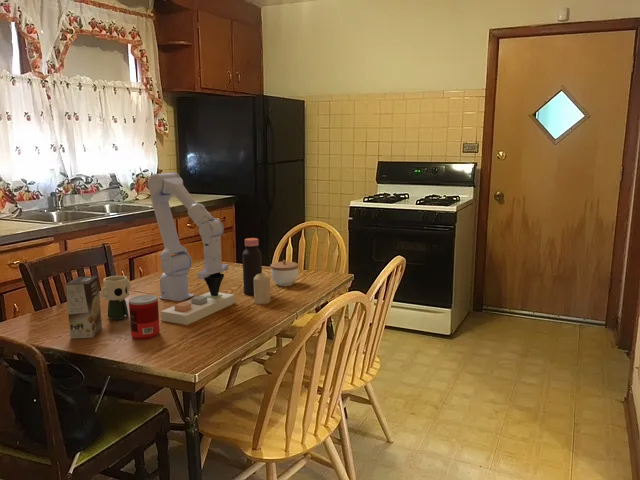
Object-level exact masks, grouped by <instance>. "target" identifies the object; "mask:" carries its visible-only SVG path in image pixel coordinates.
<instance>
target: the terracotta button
mask: <svg viewBox="0 0 640 480" xmlns="http://www.w3.org/2000/svg"><path fill="white" fill-rule="evenodd" d="M173 306H175V311H179V312H186V311H188V310H191V303H186V302H185V301H180V302H179V303H176V304H174V305H173Z"/></svg>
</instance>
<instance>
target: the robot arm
mask: <svg viewBox="0 0 640 480" xmlns="http://www.w3.org/2000/svg"><path fill="white" fill-rule="evenodd" d="M149 176H150V177H149V179H148V181H147V187H148V191H149V194H150V199H151V200H150V201H151V205H152V207H153V211H154V216H155V218H156V221H157V226H158V229H159V234H160V236H161V239H162V243H163V250H162V252H161V253H160V268H161V271H162V272H163V273H162V274H161V275H160V278H159V285H160V286H159V287H160V288H159V289H160V296H159V299H163V300H170V301H175V302H183V301H186V300H187V299H189V298H193V297H195V294H193V293H190V292H189V290H190V289H189V275H188V273H189V272H190V269H191V268H192V266H193V265H192V264H193V259H192V257H191V255H190V254H189V252H188V248H187V247H185V246H183V245H182V244H181V243H180V239H179V234H178V232H177V228H176V224H175V220H174V217H173V214H172V209H171V207H170V200H171V198H172V197H173V196H174V197H176V198H177V199H178V201H179V202H180V203H181V204H182V205H183V206H184V207H185V208H186V209H187V216H188V217H189V218H190V219H191V220H192V221H193V223H194V224H195V225H196V226H197V227H198V233H199V235H200V237H201V242H202V244H203V260H204V262H203V264H204V265H203V266H204V269H203V270H201V271H199V272H197V274H196V277H197V278H196V279H197V280H204V282H205V283H206V285H207V287H208V291H209V292H210V294H211V295H212V296H217V295H218V293H220V288H221V284H222V282H223V279H224V278H225V274H224V273H223V272H225V271H227V272H228V271H229V270H230V269H229V264H226V263H225V264H222V263H223V261H222V239H221V238H222V237H221V236H223V234H224V231H225V227H224V224H223V222H222V220H221V219H219V218H215V217H214V216H212V215H211V213H210V212H209V210H207V209H206V206H205V205H204V204H202V203H199V202H198V203H197V202H196V200H194V198H193V197H192V195H191V193H190V192H189V191H188V190H187V188H186V187H185V186H184V180H183V179H182V177H181V176H180V174H179V173H177V172H176V171H175V172H173V171H172V172H166V173H151V175H149Z"/></svg>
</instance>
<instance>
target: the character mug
mask: <svg viewBox="0 0 640 480" xmlns="http://www.w3.org/2000/svg"><path fill="white" fill-rule="evenodd" d="M102 282H103V287H101V289H100V292H101V293H100V294H101V295H100V296H101V297H102V298H103V299H104V298H105V300H107V301H108V304H107V305H108V307H107V318H108V319H110V320H122V319H124V318H125V317H126V318H128V317H130V314H129V308H128V306H127V301H126V299H127V298H128V296H129V294H130V290H131V281H130V280H129V279H128V277H127V275H126V276H125V275H110V276H108V277H104V278H103V280H102Z"/></svg>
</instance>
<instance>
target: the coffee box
mask: <svg viewBox="0 0 640 480" xmlns="http://www.w3.org/2000/svg"><path fill="white" fill-rule="evenodd" d="M65 290H66V301H67V315H68V327H69V338H70V339H91V338H94V337H95V336H96V334H98V332H99V331H100V330H102V328H103V323H102V310H101V299H100V298H101V295H100V286H99V275H96V276H95V275H88V276H87V275H85V276H77V277H75V278H73V279H72V280H70V281H68V282H67V283H65Z"/></svg>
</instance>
